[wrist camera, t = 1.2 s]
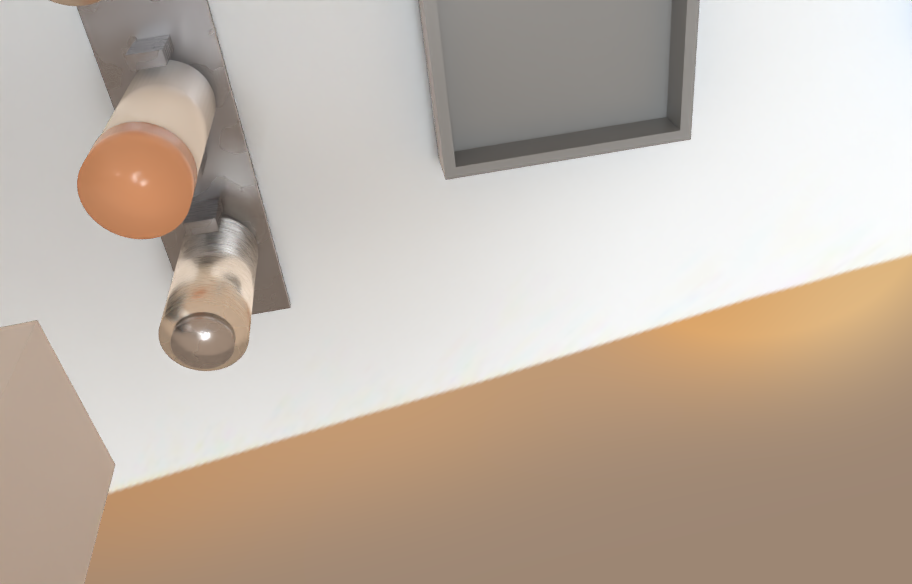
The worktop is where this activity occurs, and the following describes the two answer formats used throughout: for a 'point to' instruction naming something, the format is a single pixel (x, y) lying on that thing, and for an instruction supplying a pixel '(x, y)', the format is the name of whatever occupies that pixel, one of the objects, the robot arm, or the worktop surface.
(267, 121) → the worktop surface
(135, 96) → the cylinder
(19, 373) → the robot arm
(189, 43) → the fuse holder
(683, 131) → the tray
